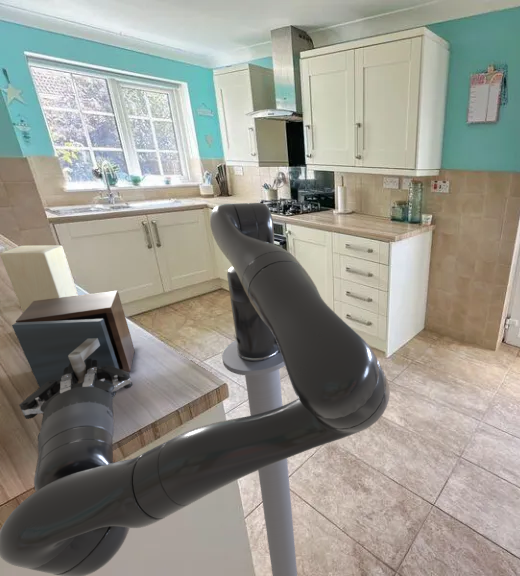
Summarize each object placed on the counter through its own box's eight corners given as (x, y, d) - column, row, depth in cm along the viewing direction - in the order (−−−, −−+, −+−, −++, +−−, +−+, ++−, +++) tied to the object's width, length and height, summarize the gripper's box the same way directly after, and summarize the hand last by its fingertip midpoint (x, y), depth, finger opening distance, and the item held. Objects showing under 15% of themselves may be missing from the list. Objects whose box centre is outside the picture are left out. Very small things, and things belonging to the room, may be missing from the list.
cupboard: (130, 371, 68) (110, 307, 62) (45, 390, 62) (15, 321, 56) (134, 349, 75) (117, 290, 69) (59, 364, 69) (33, 300, 63)
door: (104, 409, 58) (79, 338, 52) (16, 417, 55) (-20, 343, 50) (124, 384, 64) (103, 318, 59) (46, 390, 62) (16, 322, 56)
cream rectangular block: (90, 321, 85) (64, 243, 77) (73, 336, 79) (43, 252, 71) (53, 324, 83) (22, 244, 75) (33, 339, 77) (-3, 253, 69)
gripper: (17, 472, 43) (35, 397, 55) (144, 425, 51) (135, 368, 63) (-6, 429, 40) (18, 360, 52) (132, 386, 48) (125, 335, 60)
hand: (82, 365), depth 58 cm, fingers closed on door
